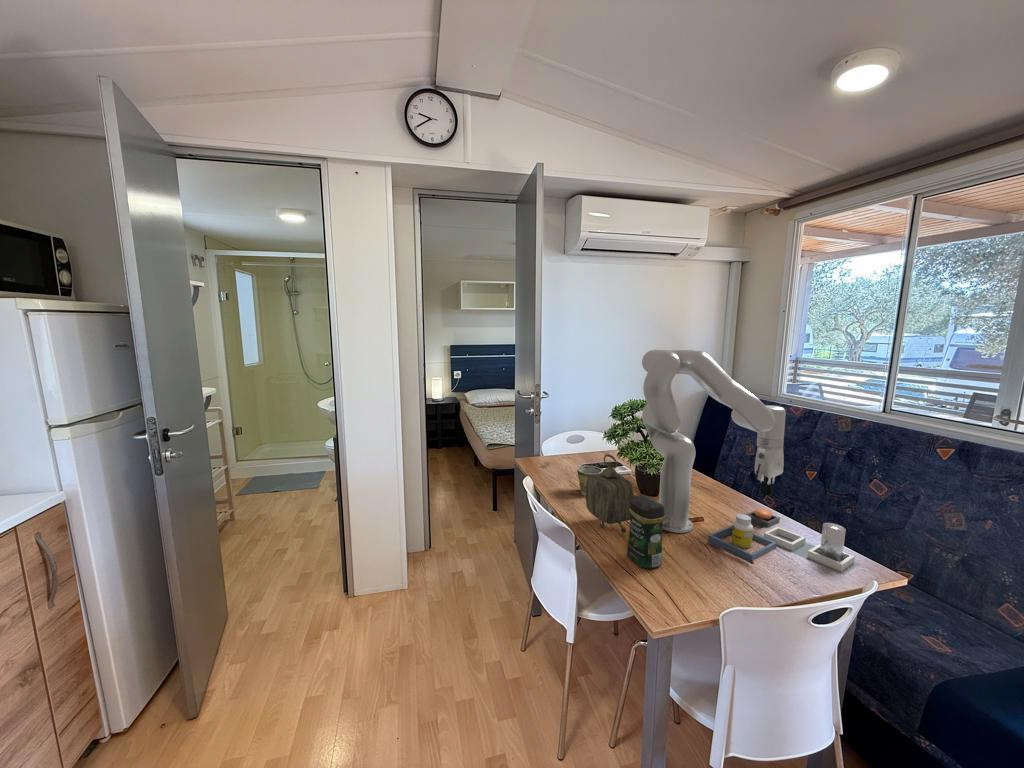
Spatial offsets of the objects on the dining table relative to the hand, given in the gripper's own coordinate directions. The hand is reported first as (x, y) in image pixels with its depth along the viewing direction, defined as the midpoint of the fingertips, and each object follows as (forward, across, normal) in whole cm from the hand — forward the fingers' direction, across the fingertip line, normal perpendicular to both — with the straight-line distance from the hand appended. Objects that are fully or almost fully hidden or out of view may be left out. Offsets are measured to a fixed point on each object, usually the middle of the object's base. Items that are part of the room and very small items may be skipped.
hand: (766, 494), depth 136 cm
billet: (+10, -10, -23) cm, 26 cm away
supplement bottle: (+10, -23, -5) cm, 25 cm away
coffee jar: (+10, -55, +5) cm, 56 cm away
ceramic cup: (+9, -34, +50) cm, 61 cm away
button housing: (+10, -1, 0) cm, 10 cm away
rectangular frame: (+10, -23, -5) cm, 25 cm away
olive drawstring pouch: (+9, -50, +25) cm, 57 cm away
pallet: (+10, -10, -17) cm, 22 cm away
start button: (+8, -1, 0) cm, 8 cm away
